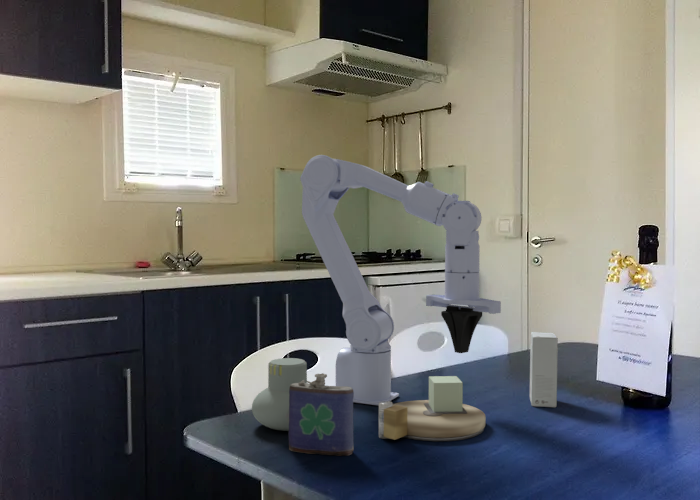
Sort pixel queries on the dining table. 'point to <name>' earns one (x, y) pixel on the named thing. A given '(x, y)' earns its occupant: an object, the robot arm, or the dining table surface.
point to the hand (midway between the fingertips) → (461, 352)
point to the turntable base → (388, 404)
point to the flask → (320, 418)
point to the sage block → (445, 393)
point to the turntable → (430, 421)
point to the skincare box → (543, 369)
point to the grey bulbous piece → (278, 392)
